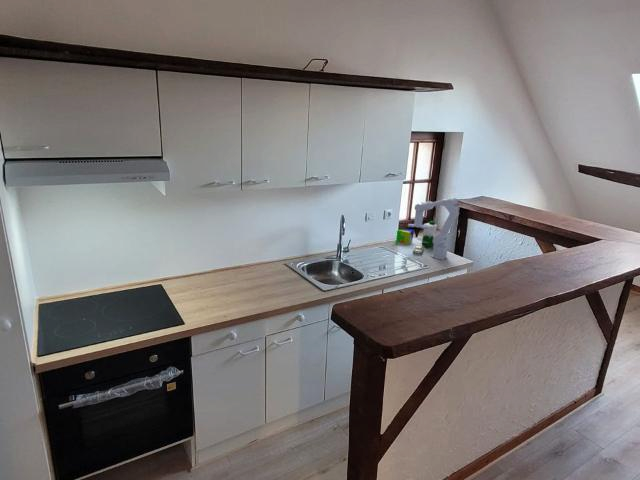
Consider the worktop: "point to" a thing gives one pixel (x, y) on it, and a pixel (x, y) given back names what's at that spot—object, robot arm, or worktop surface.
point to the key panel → (418, 251)
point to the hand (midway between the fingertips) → (416, 237)
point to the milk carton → (429, 234)
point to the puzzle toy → (404, 236)
